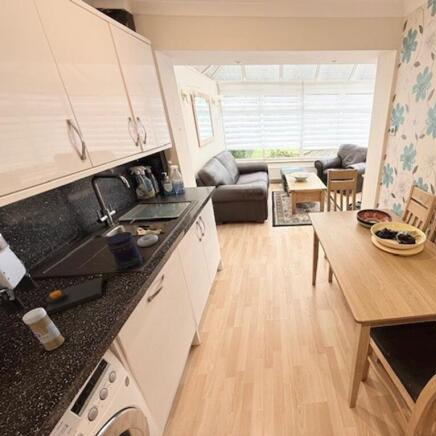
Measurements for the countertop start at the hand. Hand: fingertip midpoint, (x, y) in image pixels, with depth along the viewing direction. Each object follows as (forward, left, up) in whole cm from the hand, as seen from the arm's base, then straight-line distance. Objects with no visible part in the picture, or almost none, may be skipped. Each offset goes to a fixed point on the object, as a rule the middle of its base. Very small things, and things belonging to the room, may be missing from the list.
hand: (24, 299), depth 66 cm
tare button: (-4, +24, -15) cm, 29 cm away
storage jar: (+20, +36, -19) cm, 45 cm away
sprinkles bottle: (0, 0, -19) cm, 19 cm away
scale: (+2, +24, -19) cm, 30 cm away
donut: (+28, +54, -19) cm, 64 cm away
